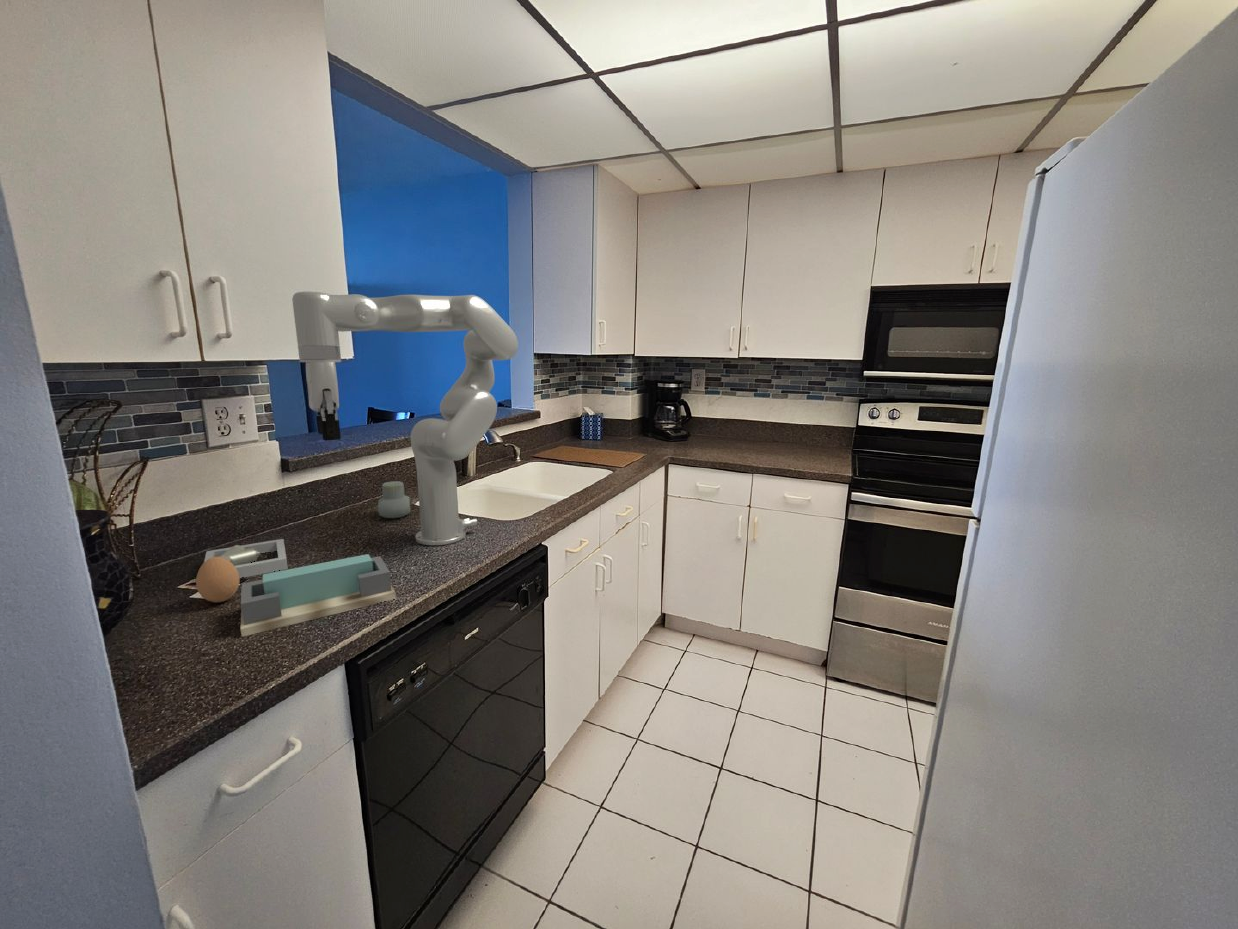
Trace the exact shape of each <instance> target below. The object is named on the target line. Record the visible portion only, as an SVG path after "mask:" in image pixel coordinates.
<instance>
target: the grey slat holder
mask: <svg viewBox="0 0 1238 929" xmlns="http://www.w3.org/2000/svg"><path fill="white" fill-rule="evenodd" d="M370 558H371V559H372V564H373V572H369V573H364V574H359V575H358V584H359V593H360V596H361V598H362V597H366V596H370V595H375V594H379V593H383V592H387V591H391V585H392V582H391V573H390V570H389V568H388V567H387V565H386V563H385V562H384V560H383V558H382V557H381V555H379V556H373V557H370ZM240 594H241V595H240V596H241V597H240V608H241V609H242V615H243V621H244V625H247V624H251V623H256V622H260V621H264V620H268V619H273V618H277V617H281V616H282V614H281V607H280V600H279V593H278V592H274V593H270V594H265V592H264V585H263V578H262V579H259V580H253V581H252V580H251V581H247V582H244V583H241V592H240Z"/></svg>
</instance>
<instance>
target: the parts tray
mask: <svg viewBox="0 0 1238 929" xmlns="http://www.w3.org/2000/svg"><path fill="white" fill-rule="evenodd" d="M241 546H242V547H244V548H245V549H250V548H253V549H254V550H257V551H258V552H260V553H265V552H271V553H275V552H274V551H277V557H275V558H270V559H265V560H259V561H255V562H252V563H248V564H242V565H237V566H235V568H236V569H237V571H238V574H239V579H243V578H242V577H244V578H248V577H253V576H259V575H263V574H268V573H273V572H274V571H275V572H278V571H279V570H280V571H283V570H289V568H288V562H287V561H288V560H287V554H286V553H287V552H286V547H285V540H284V538H281V539H273V540H267V541H262V542H261V541H259V542H255V543H250V544H245V545H244V544H241ZM231 547H232V546H231ZM231 547H225V548H219V549H211V550H207V551H206V552H205V557H204V560H203V563H204V562H205V561H207V560H208V559H210V558H213V557H220V556H221V555H223V554H224V553H225V552H226V550H228V549H229V548H231Z"/></svg>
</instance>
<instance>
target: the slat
mask: <svg viewBox="0 0 1238 929" xmlns="http://www.w3.org/2000/svg"><path fill="white" fill-rule="evenodd" d="M371 558H372V557H371V556H370V554H369V553H368V554H367V553H366V554H362V555H356V556H351V557H346V558H342V559H341V558H340V559H335V560H331V561H325V562H320V563H315V564H311V565H310V564H309V565H304V566H299V567H295V568H288V569H286V570H280V571H275V572H270V573H265V574H262V579H263V585H264V592H265V594H270V593H274V592H278V593H279V600H280V607H281V610H282V609H287V608H291V607H295V606H300V605H304V604H308V603H313V602H317V601H321V600H326V599H330V598H335V597H339V596H343V595H348V594H352V593H356V592H359V584H358V575H359V574H364V573H369V572H373V564H372V559H371Z"/></svg>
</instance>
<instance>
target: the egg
mask: <svg viewBox="0 0 1238 929" xmlns="http://www.w3.org/2000/svg"><path fill="white" fill-rule="evenodd" d="M195 578H196V579H195V584H196V589H197V591H198V593H199V595H200V596H201V598H203V599H204V600H207V601H208V602H211V603H215V604H216V603H223V602H226V601H228V600H229V599H230V598H232V597H233V596H234V595H235V594H236V592H237V590H238V589H239V587H240V586H239V585H240V578H239V574H238V571H237V569H236V568H235V566H234V565H233V564H232V563H231V562H230V561H229V560H227V559H225V558H222V557H213V558H210V559H208V560H207V561H205V562H204V561H203V563H202V564H201V566H200V568H198V572H197V574H196V577H195Z"/></svg>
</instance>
